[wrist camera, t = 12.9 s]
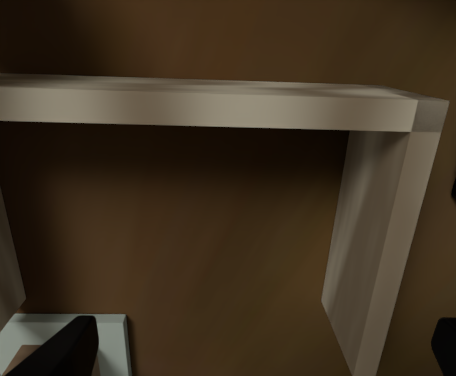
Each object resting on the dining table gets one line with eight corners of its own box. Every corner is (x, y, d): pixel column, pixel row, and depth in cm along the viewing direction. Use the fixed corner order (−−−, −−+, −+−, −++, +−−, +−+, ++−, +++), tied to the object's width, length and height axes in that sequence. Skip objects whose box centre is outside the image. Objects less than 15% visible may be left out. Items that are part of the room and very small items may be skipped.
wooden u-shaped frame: (379, 85, 18) (449, 101, 13) (338, 300, 24) (375, 377, 18) (-51, 71, 18) (-175, 81, 12) (7, 298, 23) (-59, 377, 17)
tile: (125, 314, 24) (122, 322, 23) (134, 404, 27) (132, 414, 26) (-8, 313, 23) (-15, 322, 23) (18, 404, 27) (12, 414, 26)
